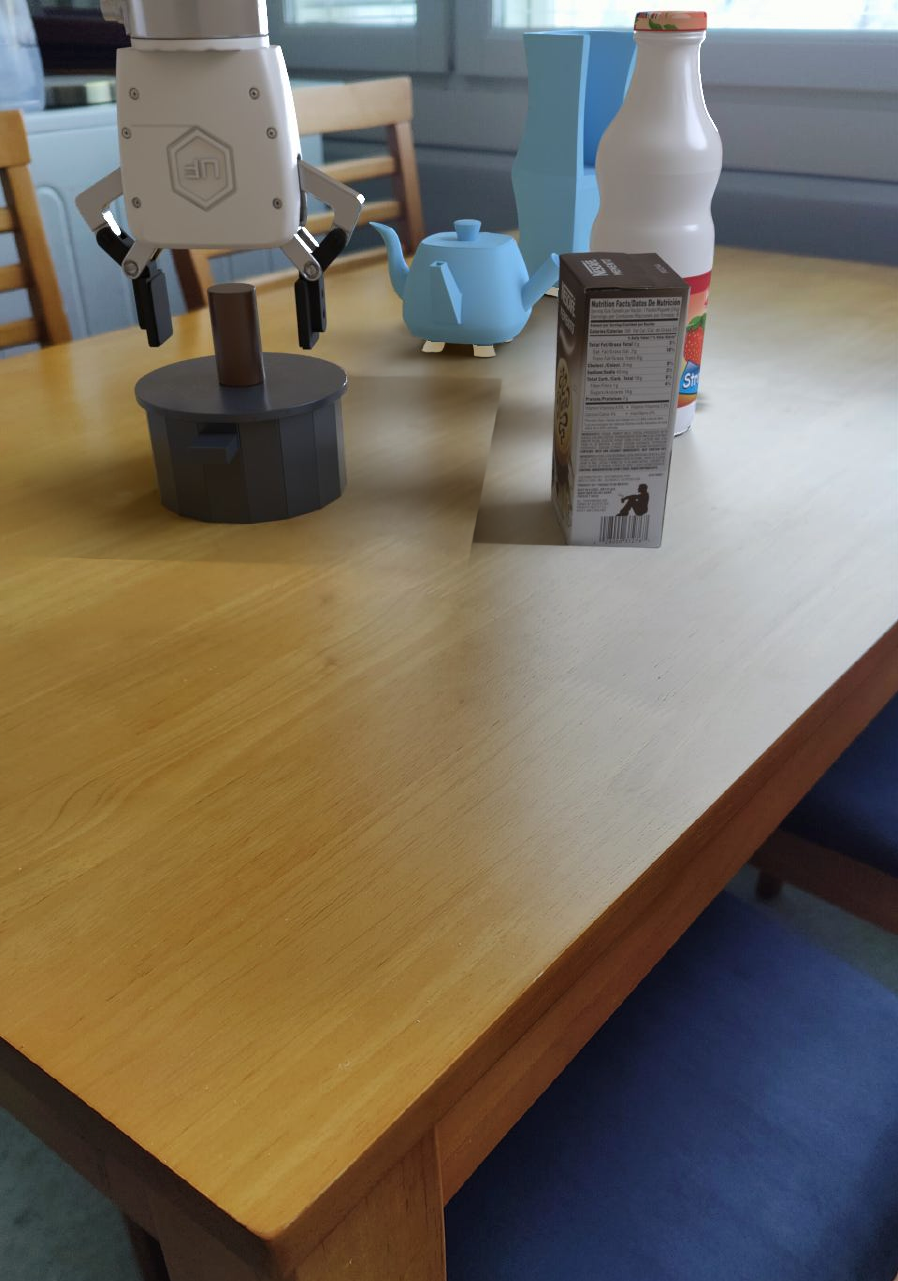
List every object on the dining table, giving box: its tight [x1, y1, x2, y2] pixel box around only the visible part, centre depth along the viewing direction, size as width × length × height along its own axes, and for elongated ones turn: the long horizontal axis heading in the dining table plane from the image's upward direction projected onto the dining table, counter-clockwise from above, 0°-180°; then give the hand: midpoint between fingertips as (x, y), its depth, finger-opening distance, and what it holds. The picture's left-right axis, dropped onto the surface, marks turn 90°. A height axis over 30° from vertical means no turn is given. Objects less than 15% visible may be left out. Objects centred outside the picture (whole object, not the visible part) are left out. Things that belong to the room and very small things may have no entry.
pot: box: [144, 397, 348, 525], centre depth 76 cm, size 13×18×8 cm
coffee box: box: [550, 252, 691, 549], centre depth 72 cm, size 9×6×16 cm
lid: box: [133, 282, 349, 423], centre depth 72 cm, size 14×14×7 cm
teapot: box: [369, 218, 560, 346], centre depth 110 cm, size 15×14×11 cm
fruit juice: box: [588, 10, 724, 433], centre depth 85 cm, size 9×9×28 cm
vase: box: [510, 29, 637, 288], centre depth 127 cm, size 10×10×25 cm
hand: (235, 343), depth 72 cm, fingers open, 9 cm apart
